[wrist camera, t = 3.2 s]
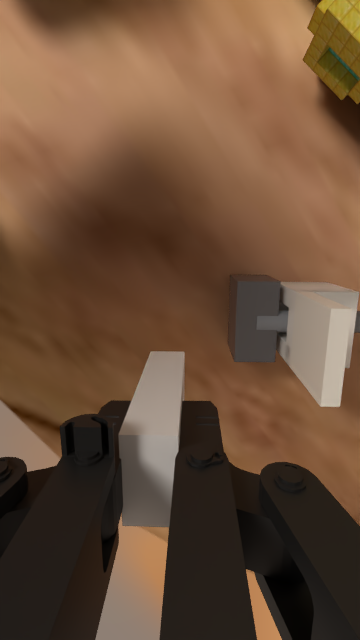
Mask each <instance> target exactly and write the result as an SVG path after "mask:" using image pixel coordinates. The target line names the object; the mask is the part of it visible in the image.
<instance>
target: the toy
mask: <svg viewBox="0 0 360 640" xmlns="http://www.w3.org/2000/svg"><path fill="white" fill-rule="evenodd" d="M308 29H309V30H310V31H311V32H312V33H313V34H314V37H313V39H312V41H311V44H310V46H309V48H308V50H307V52H306V54H305V56H304V58H303V61H304V62H305V63H306V64H307V65H308V66H309V67H310V68H311V69H312V70H313V71H314V72H315V73H316V75H317V76H318V77H319V78H320V79H321V80H322V81H323V82H324V83H325V84H326V85H327V86H328V87H329V88H330V89H331V90H332V91H333V92H334V93H335V94H336V95H337V96H338V97H339V98H340V99H341V100H343V99H344V98H345V97H346V96H347V95H349V96H350V97H351V98H352V99H353V100H354V101H355V102H356V104H357V105H358V103H359V102H360V0H322V1H321V2H320V3H319V4H318V5H317V7H316V9H315V11H314V14H313V16H312V18H311V21H310V23H309V25H308Z"/></svg>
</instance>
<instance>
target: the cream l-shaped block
mask: <svg viewBox="0 0 360 640" xmlns="http://www.w3.org/2000/svg"><path fill="white" fill-rule="evenodd" d="M358 297H359V292H358V291H354V290H351V289H348V288H345V287H341V286H338V285H335V284H332V283H328V282H281V284H280V298H279V310H289V312H288V325H287V332H277V340H276V350H277V351H278V353H279V354H280V355H281V357H282V358H283V359H284V360H285V362H286V363H287V364H288V366H289V367H290V368H291V369H292V371H293V372H294V373H295V375H296V376H297V377H298V378H299V380H300V381H301V382H302V383H303V385H304V386H305V387H306V389H307V390H308V391H309V392H310V394H311V395H312V396H313V398H314V399H315V400H316V401H317V403H318V404H319V405H320V407H340V402H341V394H342V386H343V378H344V370H345V368H350V360H351V352H352V344H353V337H354V329H355V321H356V313H357V305H358Z"/></svg>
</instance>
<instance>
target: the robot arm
mask: <svg viewBox="0 0 360 640" xmlns="http://www.w3.org/2000/svg"><path fill="white" fill-rule="evenodd" d="M184 376H185V352H175V351H151V352H150V354H149V357H148V360H147V362H146V365H145V367H144V370H143V372H142V375H141V378H140V380H139V383H138V385H137V388H136V391H135V393H134V396H133V398H132V401H110V402H109V403H107V404H106V405H104V406H103V407H102V408H101V410H100V411H99V413H98V414H85V415H80V416H77V417H73V418H71V419H69V420H67V421H65V422H64V423H63V424H62V425H61V426H60V435H61V446H62V458H61V459H60V461H59V463H58V464H57V466H54V467H50V468H46V469H41V470H35V471H30V472H27V467H26V464H25V463H24V461H23V460H21V459H19V458H16V457H3V458H0V640H95V638H96V634H97V630H98V625H99V622H100V617H101V613H102V609H103V605H104V601H105V597H106V593H107V589H108V584H109V580H110V576H111V572H112V568H113V564H114V560H115V555H116V551H117V548H118V543H119V534H118V524H119V520H120V516H121V513H122V522H123V523H122V524H123V526H147V527H169V536H168V548H167V560H166V571H165V583H164V595H163V606H162V618H161V630H160V640H257V637H256V631H255V624H254V618H253V612H252V606H251V599H250V593H249V587H248V580H247V574H246V569H248V570H251V571H254V572H255V576H256V580H257V582H258V585H259V587H260V589H261V592H262V594H263V596H264V599H265V601H266V603H267V606H268V608H269V610H270V612H271V615H272V617H273V619H274V622H275V624H276V626H277V628H278V631H279V633H280V636H281V638H282V640H360V526H359V525H358V524H357V523H356V522H355V520H354V519H353V518H352V517H351V516H350V515H349V514H348V512H347V511H346V510H345V509H344V508H343V507H342V506H341V504H340V503H339V502H338V501H337V500H336V499H335V498H334V497H333V495H332V494H331V493H330V492H329V491H328V490H327V489H326V487H325V486H324V485H323V484H322V483H321V482H320V481H319V479H318V478H317V477H316V476H315V475H314V474H312V473H311V472H310V471H309V470H307V469H305V468H303V467H301V466H299V465H296V464H292V463H288V462H275V463H272V464H269V465H267V466H265V467H264V468H263V469H262V470H261V474H260V475H258V474H254V473H250V472H247V471H244V470H241V469H239V468H237V467H235V466H234V465H233V464H231V463H230V462H229V461H228V458H227V456H226V454H225V453H224V451H223V444H222V437H221V431H220V425H219V418H218V410H217V408H216V407H215V406H214V405H213V404H212V402H211V401H184Z"/></svg>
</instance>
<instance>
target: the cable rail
mask: <svg viewBox="0 0 360 640" xmlns="http://www.w3.org/2000/svg"><path fill="white" fill-rule="evenodd" d="M280 284H281V282H280V281H278V280H276V279H274V278H272V277H270V276H267V275H230V293H229V321H228V345H229V348H230V351H231V354H232V357H233V359H234V362H275V354H276V340H277V332H287V325H288V312H289V310H279V298H280ZM354 333H360V311H357V313H356V321H355V329H354Z"/></svg>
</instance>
